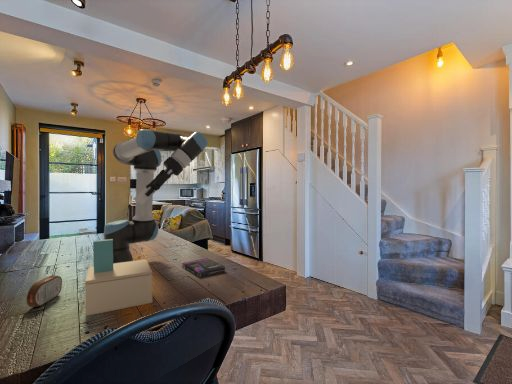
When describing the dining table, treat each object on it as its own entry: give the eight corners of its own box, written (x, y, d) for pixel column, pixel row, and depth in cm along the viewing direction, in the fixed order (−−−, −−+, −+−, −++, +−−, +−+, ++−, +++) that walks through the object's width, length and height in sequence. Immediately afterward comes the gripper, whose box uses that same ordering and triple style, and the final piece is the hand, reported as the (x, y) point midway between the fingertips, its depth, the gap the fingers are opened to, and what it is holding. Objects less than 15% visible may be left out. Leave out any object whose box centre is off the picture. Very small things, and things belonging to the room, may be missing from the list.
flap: (146, 261, 111) (145, 232, 110) (151, 273, 95) (151, 240, 94) (89, 269, 101) (88, 237, 101) (85, 284, 85) (84, 246, 85)
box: (182, 269, 136) (198, 279, 120) (182, 262, 136) (197, 271, 120) (207, 264, 144) (225, 272, 128) (207, 257, 144) (225, 265, 128)
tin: (55, 293, 104) (55, 272, 104) (64, 293, 104) (63, 271, 104) (25, 311, 89) (25, 286, 89) (35, 311, 89) (35, 286, 89)
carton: (146, 286, 111) (146, 262, 111) (152, 302, 95) (151, 274, 95) (89, 295, 101) (89, 269, 101) (85, 315, 85) (85, 284, 85)
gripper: (191, 166, 98) (149, 210, 91) (177, 171, 120) (142, 206, 113) (176, 151, 95) (131, 195, 88) (164, 159, 117) (127, 194, 110)
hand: (137, 201), depth 101 cm, fingers open, 13 cm apart
